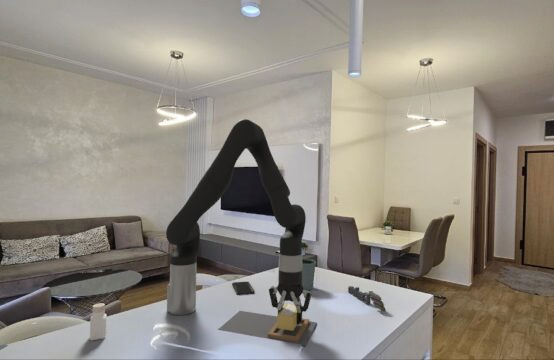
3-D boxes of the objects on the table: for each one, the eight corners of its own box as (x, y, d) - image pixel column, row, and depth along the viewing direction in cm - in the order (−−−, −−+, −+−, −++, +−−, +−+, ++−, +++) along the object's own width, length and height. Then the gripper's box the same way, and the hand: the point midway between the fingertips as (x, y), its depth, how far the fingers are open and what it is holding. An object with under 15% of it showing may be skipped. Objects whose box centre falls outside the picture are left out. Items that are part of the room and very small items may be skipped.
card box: (286, 315, 106) (287, 303, 107) (301, 317, 105) (301, 305, 105) (277, 328, 97) (277, 314, 97) (293, 330, 95) (293, 317, 95)
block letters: (386, 314, 115) (386, 299, 115) (382, 315, 114) (382, 299, 114) (351, 292, 139) (351, 279, 139) (348, 292, 138) (348, 279, 138)
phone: (248, 281, 150) (255, 291, 135) (248, 283, 149) (255, 294, 135) (231, 282, 147) (236, 293, 133) (231, 285, 147) (236, 295, 133)
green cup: (288, 285, 146) (289, 259, 146) (308, 283, 150) (308, 257, 150) (299, 292, 137) (300, 264, 137) (319, 289, 141) (320, 262, 141)
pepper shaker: (91, 335, 96) (92, 303, 96) (106, 333, 98) (107, 301, 98) (89, 341, 92) (90, 308, 92) (105, 339, 94) (106, 306, 94)
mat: (217, 331, 100) (217, 326, 100) (239, 312, 115) (239, 307, 115) (305, 346, 91) (305, 341, 91) (316, 324, 106) (316, 319, 106)
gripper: (315, 267, 102) (314, 320, 102) (273, 263, 107) (272, 314, 107) (310, 273, 95) (309, 331, 95) (265, 268, 100) (264, 323, 100)
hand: (289, 322), depth 101 cm, fingers closed on card box, 5 cm apart
